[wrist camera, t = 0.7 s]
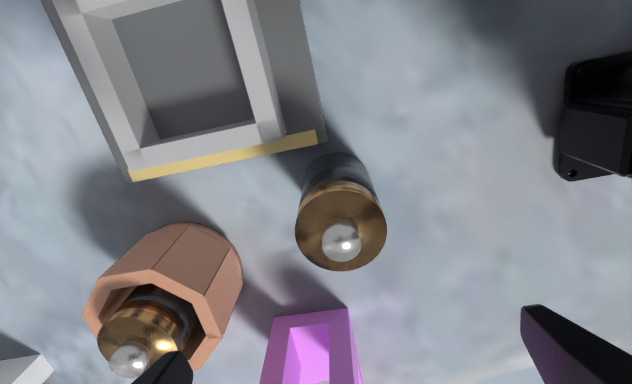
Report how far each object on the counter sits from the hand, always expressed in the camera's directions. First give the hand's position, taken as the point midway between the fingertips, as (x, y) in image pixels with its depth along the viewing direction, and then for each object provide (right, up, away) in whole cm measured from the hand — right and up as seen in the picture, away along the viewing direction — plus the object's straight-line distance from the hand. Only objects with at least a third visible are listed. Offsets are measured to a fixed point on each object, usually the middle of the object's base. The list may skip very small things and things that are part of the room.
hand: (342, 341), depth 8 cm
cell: (+1, +4, +11) cm, 12 cm away
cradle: (-7, +11, +9) cm, 15 cm away
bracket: (0, -11, +17) cm, 20 cm away
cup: (-9, -1, +14) cm, 17 cm away
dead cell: (-9, -2, +13) cm, 16 cm away
